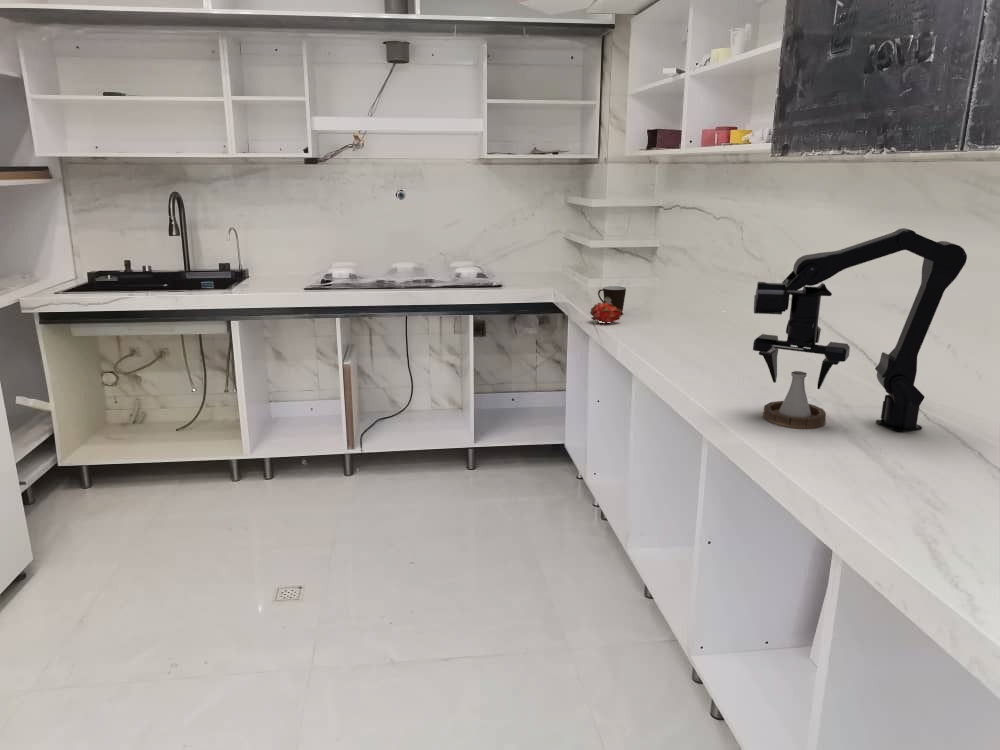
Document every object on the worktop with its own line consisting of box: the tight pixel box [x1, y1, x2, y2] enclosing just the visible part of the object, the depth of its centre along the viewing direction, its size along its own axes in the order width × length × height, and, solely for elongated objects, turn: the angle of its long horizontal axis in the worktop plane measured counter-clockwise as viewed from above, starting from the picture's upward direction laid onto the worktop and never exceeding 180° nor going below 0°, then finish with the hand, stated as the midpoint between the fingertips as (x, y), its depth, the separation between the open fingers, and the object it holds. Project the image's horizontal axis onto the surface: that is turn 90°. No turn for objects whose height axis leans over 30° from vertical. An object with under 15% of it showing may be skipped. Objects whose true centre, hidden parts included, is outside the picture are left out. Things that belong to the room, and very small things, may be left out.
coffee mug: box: [597, 285, 627, 311], centre depth 276 cm, size 12×9×10 cm
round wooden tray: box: [762, 400, 827, 430], centre depth 161 cm, size 13×13×2 cm
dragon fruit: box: [589, 302, 624, 323], centre depth 258 cm, size 8×8×12 cm
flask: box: [778, 370, 811, 418], centre depth 160 cm, size 7×7×10 cm
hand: (796, 385), depth 159 cm, fingers open, 9 cm apart
